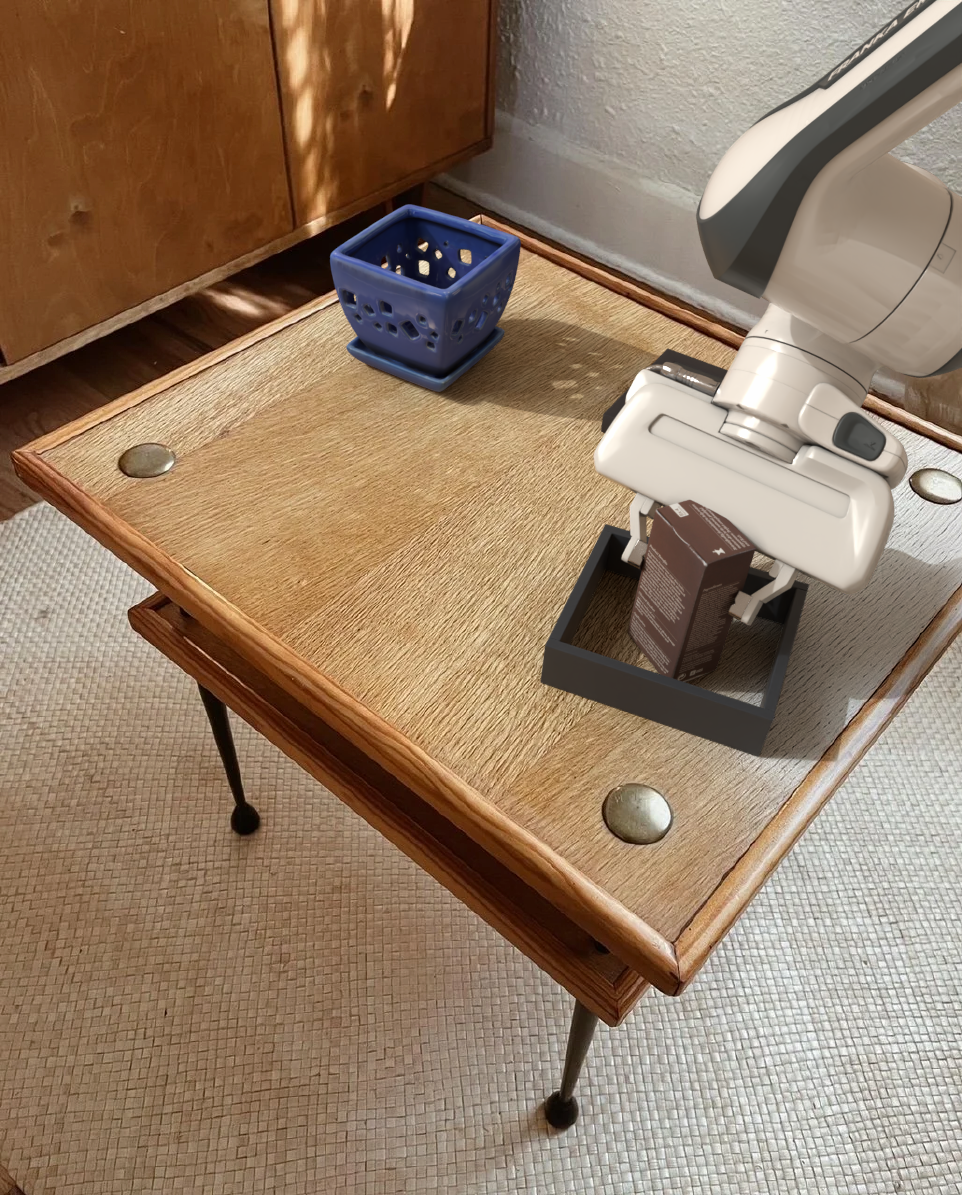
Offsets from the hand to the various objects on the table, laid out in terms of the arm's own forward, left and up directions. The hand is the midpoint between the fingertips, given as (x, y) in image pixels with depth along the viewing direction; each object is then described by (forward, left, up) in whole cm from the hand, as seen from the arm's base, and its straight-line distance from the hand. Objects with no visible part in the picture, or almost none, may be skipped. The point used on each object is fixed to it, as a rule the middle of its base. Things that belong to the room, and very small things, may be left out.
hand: (684, 592), depth 70 cm
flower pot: (+32, -28, -7) cm, 43 cm away
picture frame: (+3, -29, -7) cm, 30 cm away
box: (0, -1, -7) cm, 7 cm away
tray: (0, -1, -7) cm, 7 cm away
